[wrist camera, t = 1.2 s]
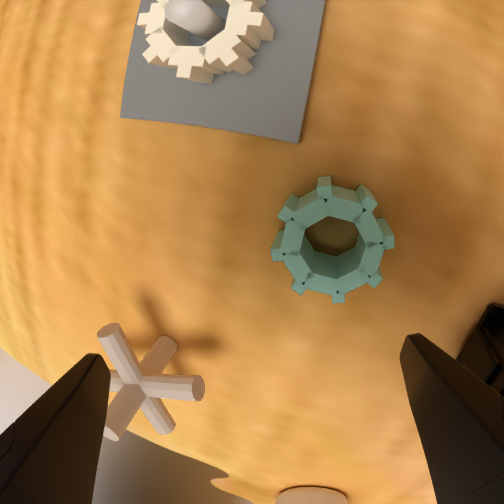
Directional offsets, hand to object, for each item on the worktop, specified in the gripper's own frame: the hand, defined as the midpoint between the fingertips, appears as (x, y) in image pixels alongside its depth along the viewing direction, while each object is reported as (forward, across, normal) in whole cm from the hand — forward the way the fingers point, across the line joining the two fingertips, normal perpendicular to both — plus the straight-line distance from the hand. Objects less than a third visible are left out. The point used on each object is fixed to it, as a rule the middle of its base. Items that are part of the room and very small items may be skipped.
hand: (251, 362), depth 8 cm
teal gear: (+11, -5, +2) cm, 12 cm away
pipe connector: (+13, +8, +12) cm, 19 cm away
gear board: (+14, 0, -14) cm, 20 cm away
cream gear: (+12, +1, -10) cm, 16 cm away
